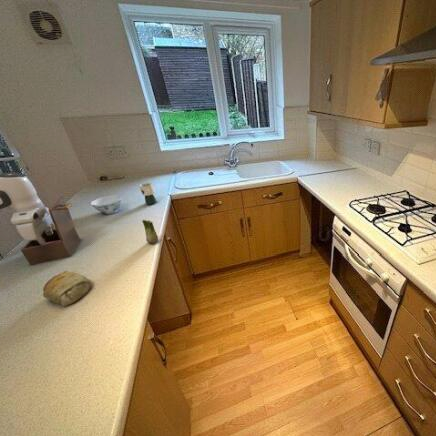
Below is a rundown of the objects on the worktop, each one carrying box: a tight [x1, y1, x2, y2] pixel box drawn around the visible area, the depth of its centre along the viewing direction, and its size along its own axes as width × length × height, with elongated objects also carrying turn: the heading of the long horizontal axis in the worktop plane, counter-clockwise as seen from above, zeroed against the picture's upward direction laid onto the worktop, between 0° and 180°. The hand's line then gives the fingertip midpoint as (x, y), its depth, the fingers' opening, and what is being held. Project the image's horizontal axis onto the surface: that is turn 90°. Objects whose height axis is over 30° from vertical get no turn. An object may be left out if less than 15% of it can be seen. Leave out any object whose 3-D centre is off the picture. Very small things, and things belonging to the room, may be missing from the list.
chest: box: [20, 225, 81, 266], centre depth 108 cm, size 14×16×8 cm
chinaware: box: [90, 195, 123, 215], centre depth 145 cm, size 15×15×8 cm
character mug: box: [139, 182, 157, 205], centre depth 155 cm, size 11×7×13 cm, turn 37°
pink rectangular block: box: [41, 240, 61, 245], centre depth 109 cm, size 7×4×4 cm, turn 115°
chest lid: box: [48, 196, 75, 241], centre depth 106 cm, size 14×16×4 cm
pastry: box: [42, 270, 91, 307], centre depth 85 cm, size 14×12×8 cm
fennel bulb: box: [141, 219, 159, 245], centre depth 113 cm, size 6×5×12 cm
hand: (47, 238), depth 106 cm, fingers open, 6 cm apart
